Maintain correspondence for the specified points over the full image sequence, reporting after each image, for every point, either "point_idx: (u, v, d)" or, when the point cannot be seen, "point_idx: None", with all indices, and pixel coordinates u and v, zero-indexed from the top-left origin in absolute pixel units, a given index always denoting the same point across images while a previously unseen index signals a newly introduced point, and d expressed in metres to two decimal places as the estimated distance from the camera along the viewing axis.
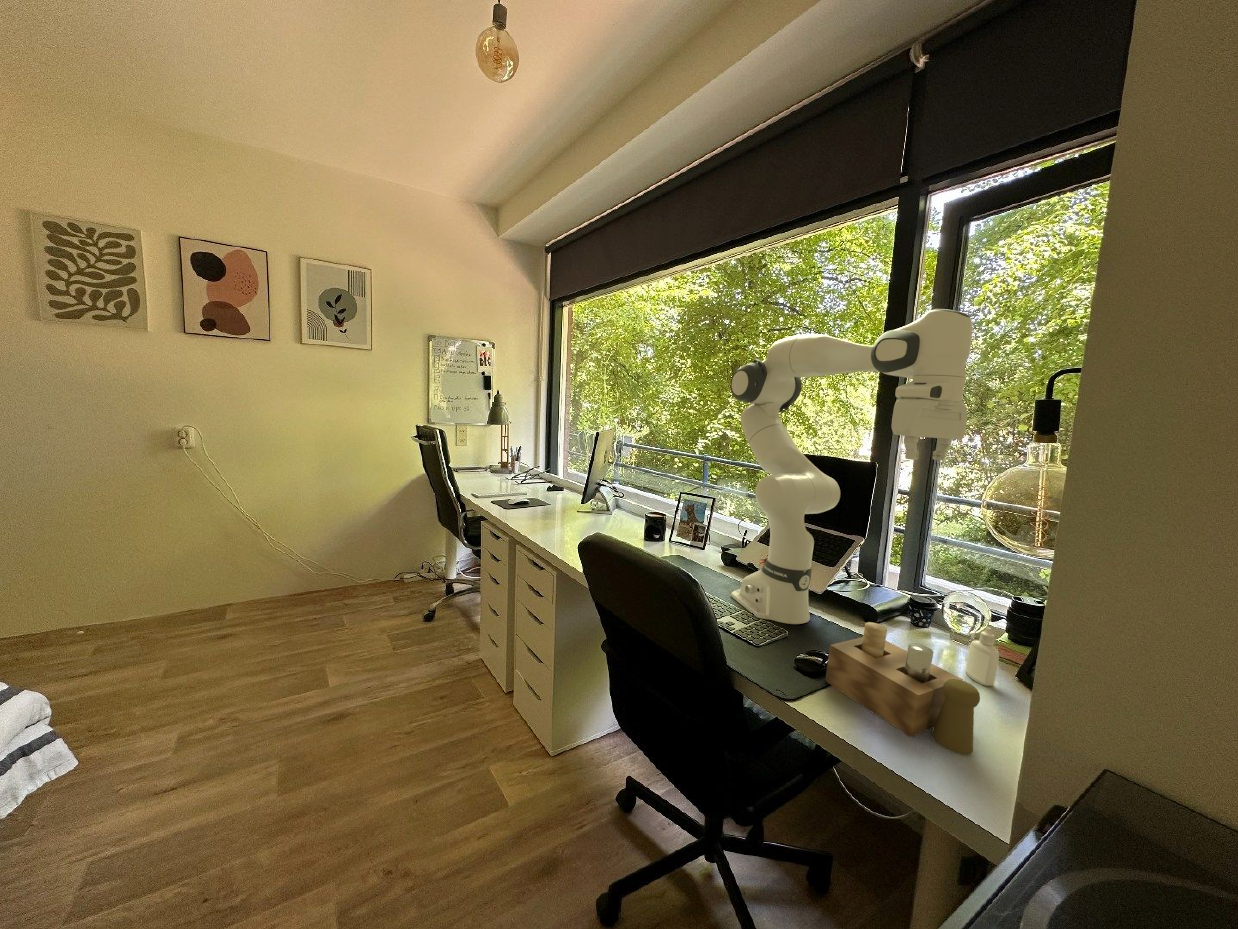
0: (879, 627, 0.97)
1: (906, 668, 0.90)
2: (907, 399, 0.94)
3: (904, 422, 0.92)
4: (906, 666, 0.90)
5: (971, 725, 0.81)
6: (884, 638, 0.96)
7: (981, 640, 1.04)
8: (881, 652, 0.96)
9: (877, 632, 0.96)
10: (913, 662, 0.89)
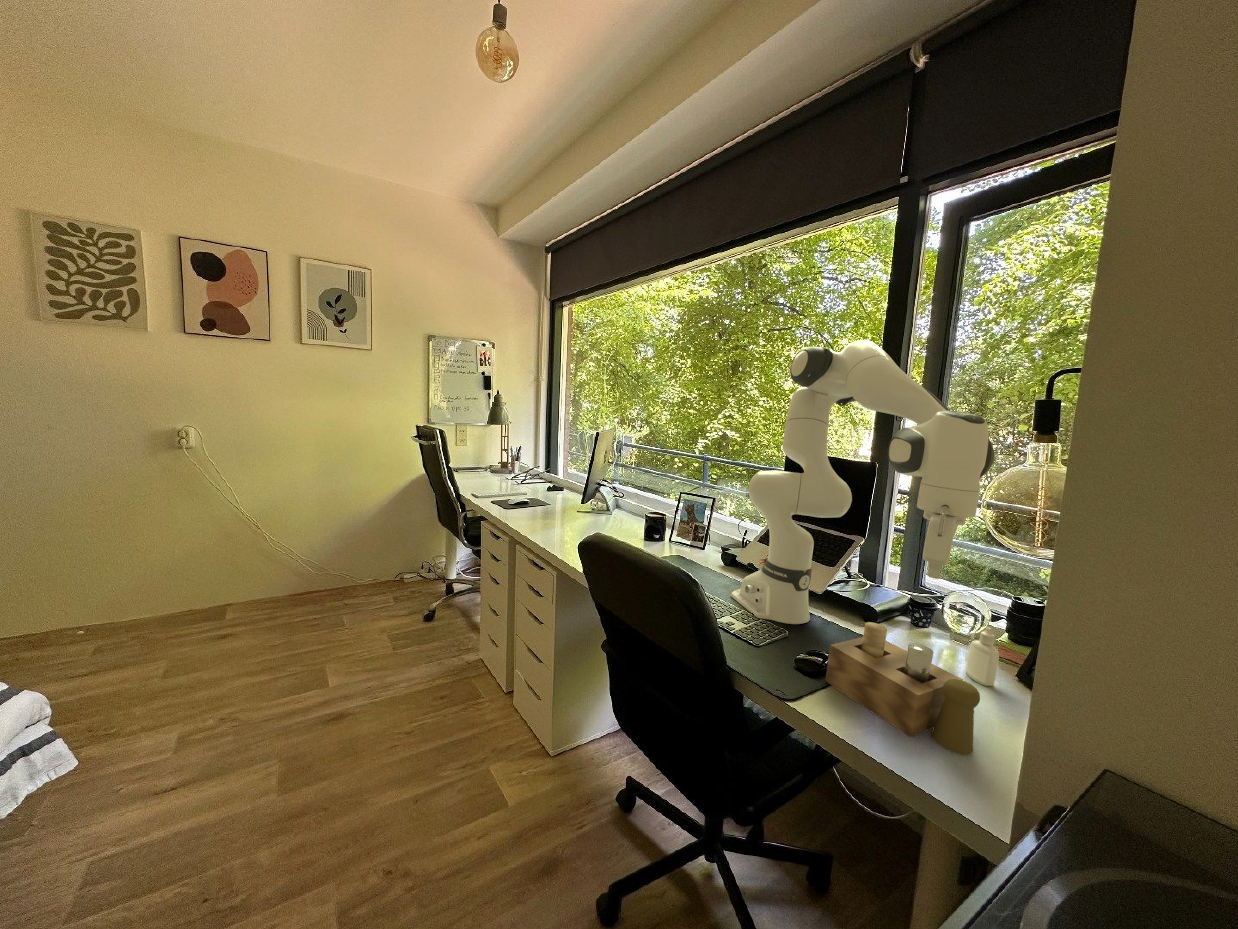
0: (879, 627, 0.97)
1: (906, 668, 0.90)
2: None
3: None
4: (906, 666, 0.90)
5: (971, 725, 0.81)
6: (884, 638, 0.96)
7: (981, 640, 1.04)
8: (881, 652, 0.96)
9: (877, 632, 0.96)
10: (913, 662, 0.89)
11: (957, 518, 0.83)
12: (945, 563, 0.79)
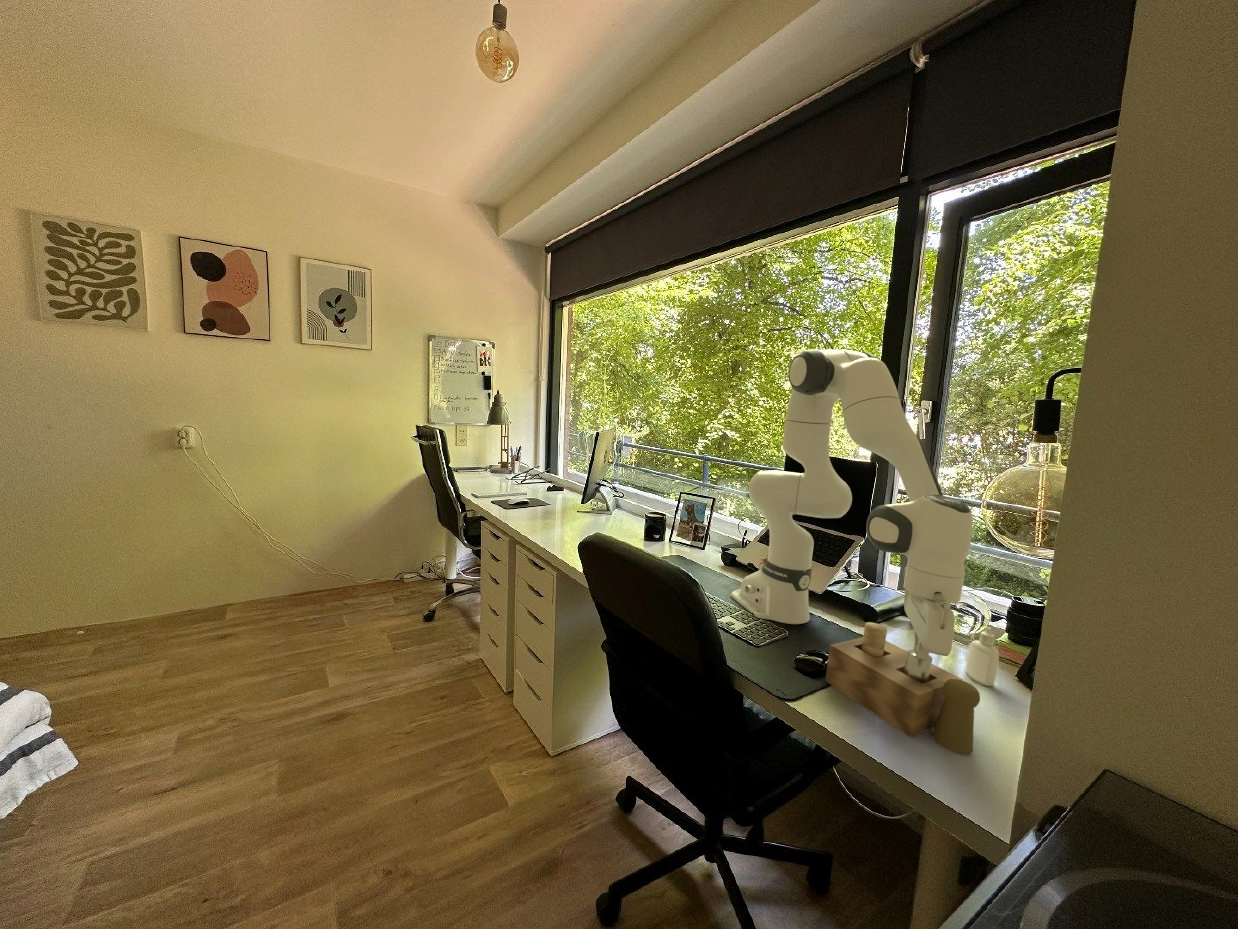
0: (879, 627, 0.97)
1: None
2: None
3: None
4: (905, 673, 0.90)
5: (971, 725, 0.81)
6: (884, 638, 0.96)
7: (981, 640, 1.04)
8: (881, 652, 0.96)
9: (877, 632, 0.96)
10: (912, 668, 0.89)
11: None
12: (947, 655, 0.80)
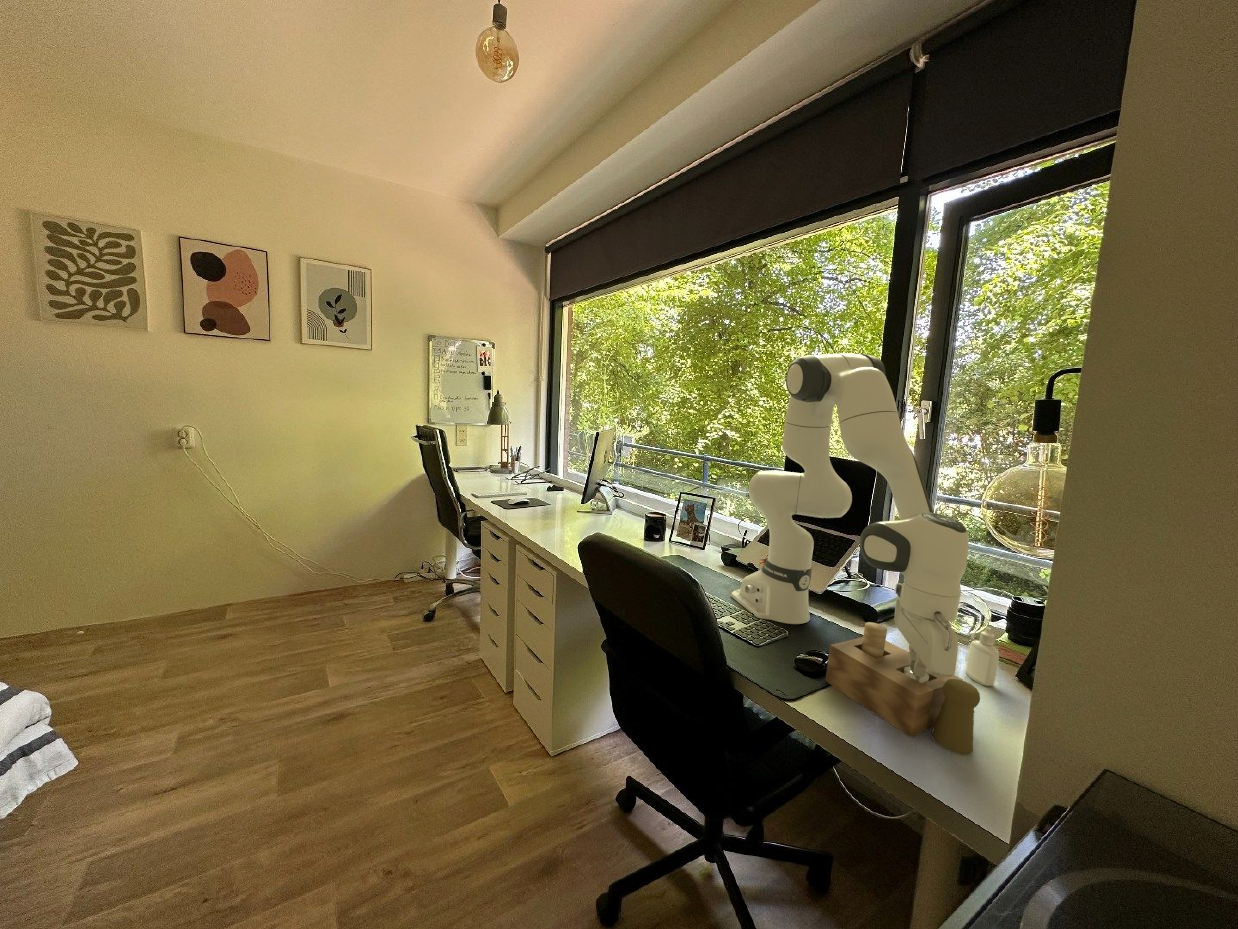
0: (879, 627, 0.97)
1: None
2: None
3: None
4: None
5: (971, 725, 0.81)
6: (884, 638, 0.96)
7: (981, 640, 1.04)
8: (881, 652, 0.96)
9: (877, 632, 0.96)
10: None
11: None
12: None
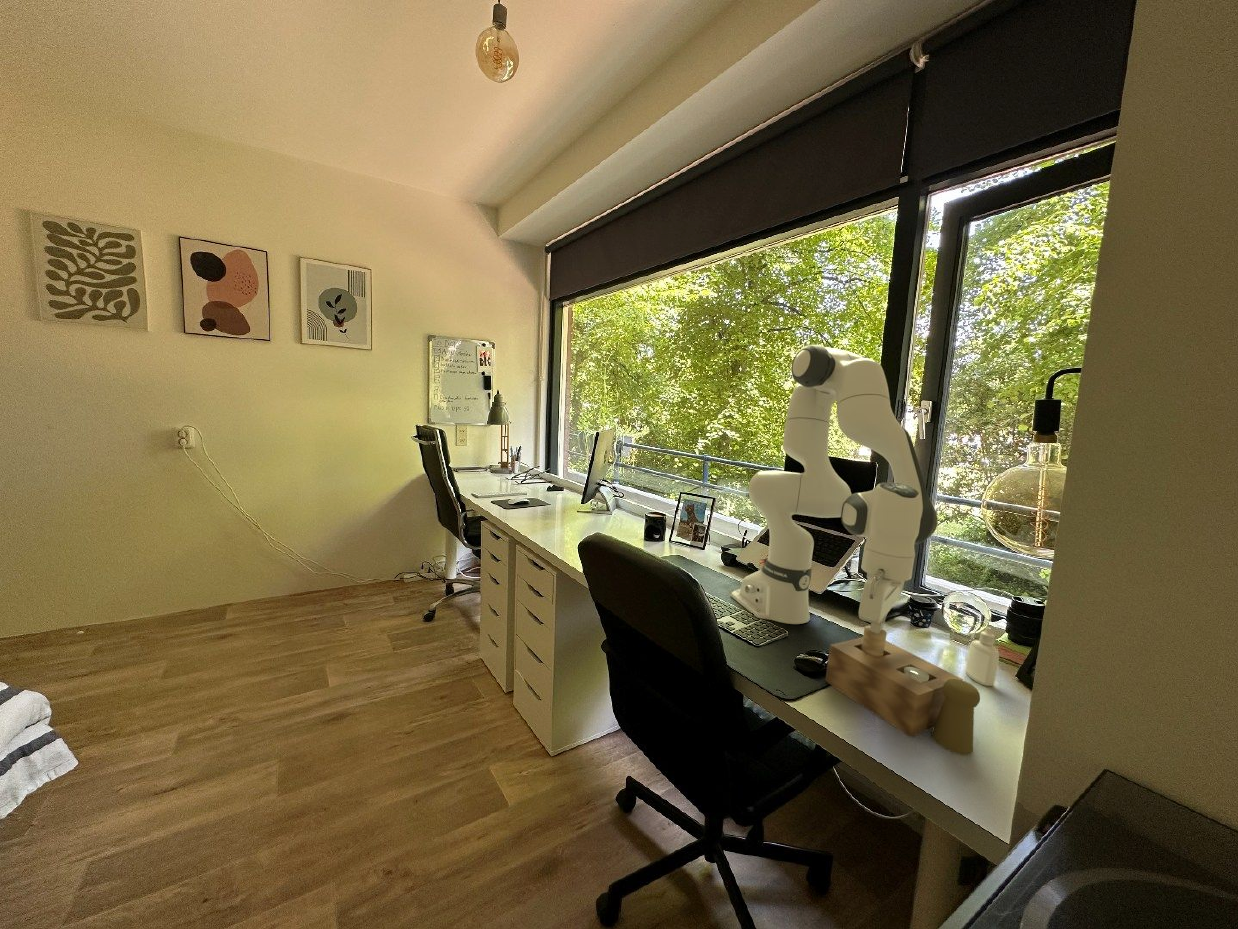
0: None
1: None
2: None
3: None
4: None
5: (971, 725, 0.81)
6: (883, 641, 0.96)
7: (981, 640, 1.04)
8: (880, 655, 0.96)
9: (877, 636, 0.96)
10: None
11: (893, 581, 0.93)
12: (876, 623, 0.88)
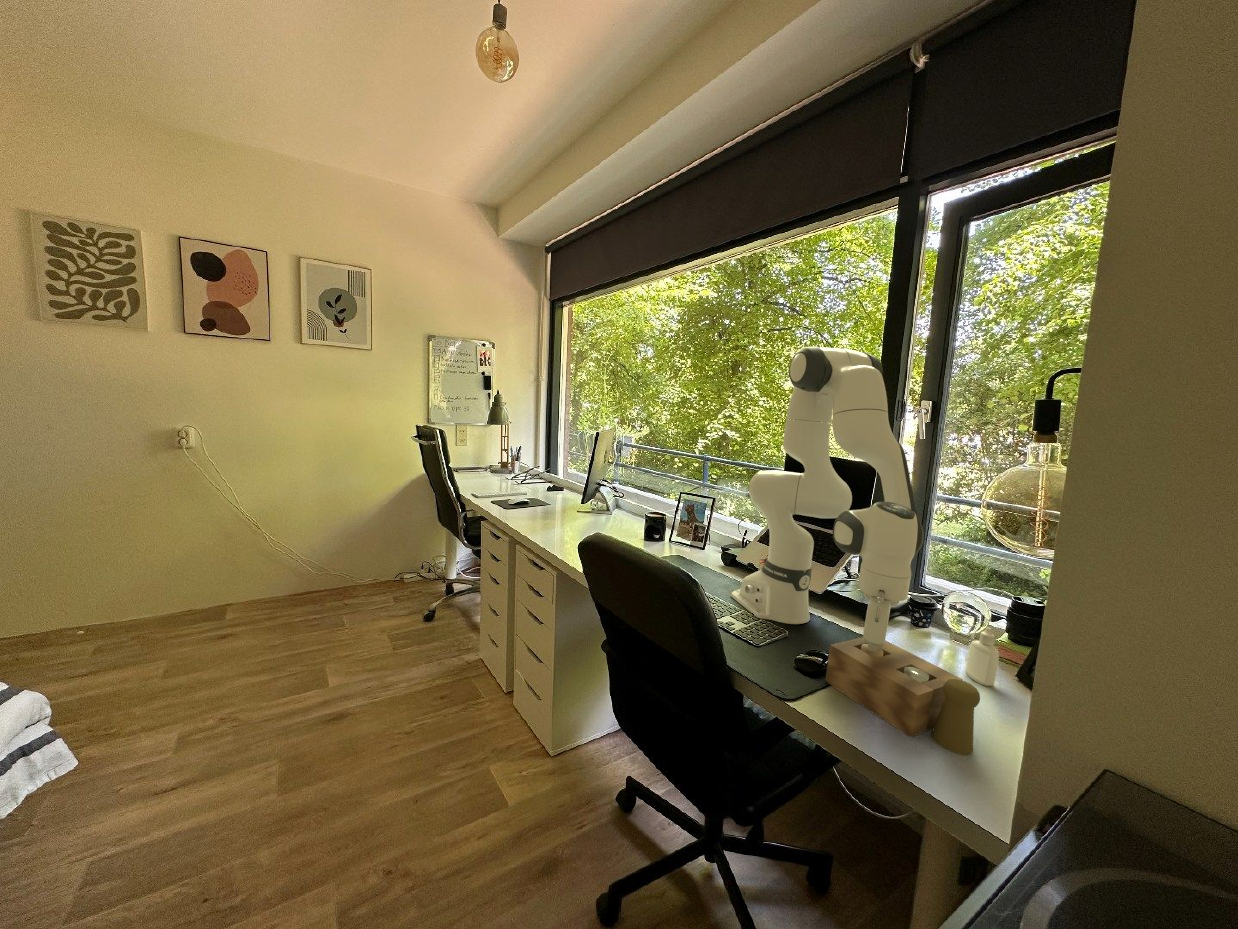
0: None
1: None
2: None
3: None
4: None
5: (971, 725, 0.81)
6: None
7: (981, 640, 1.04)
8: None
9: (874, 654, 0.96)
10: None
11: (892, 601, 0.93)
12: (881, 646, 0.88)
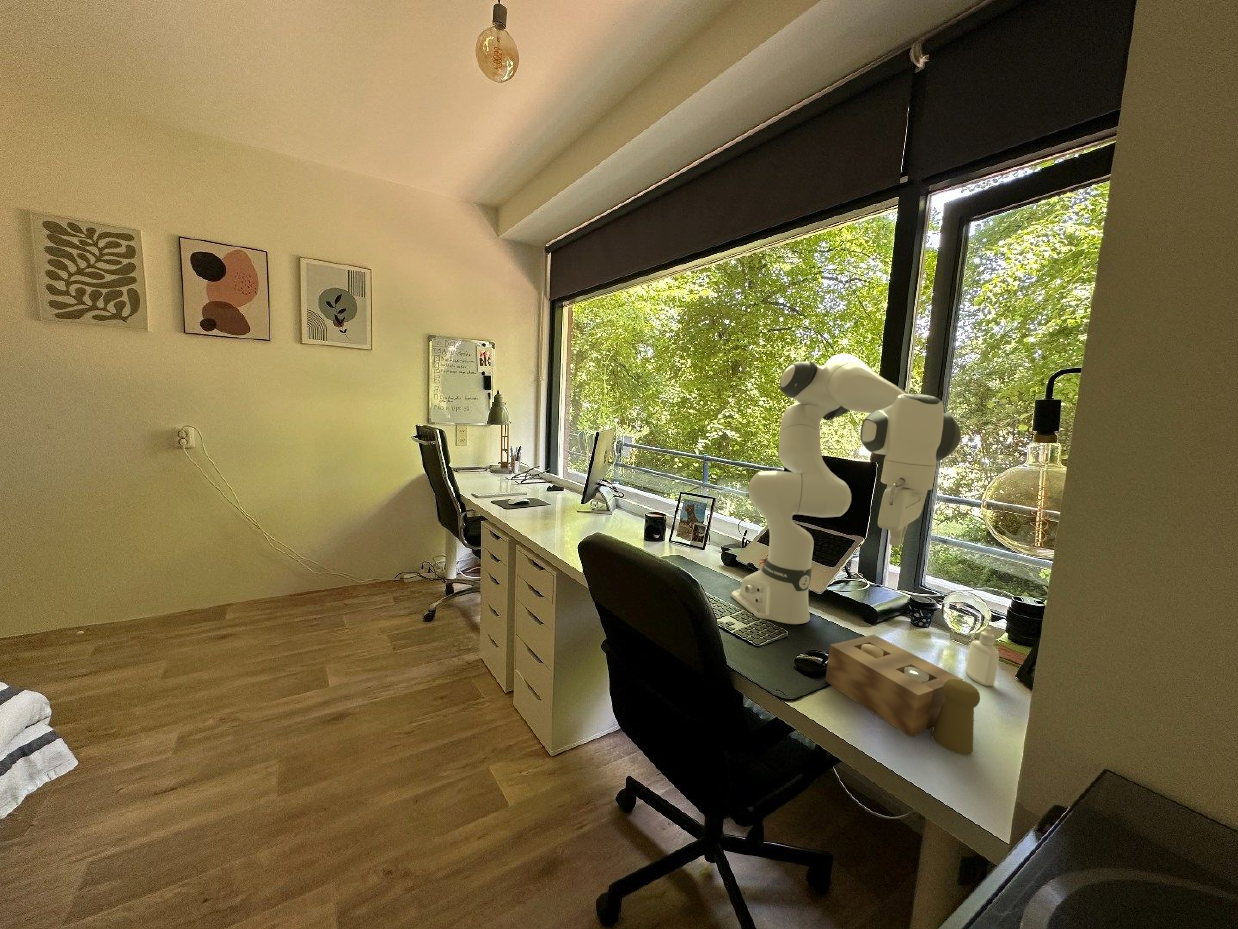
0: (875, 649, 0.98)
1: None
2: None
3: None
4: None
5: (971, 725, 0.81)
6: None
7: (981, 640, 1.04)
8: None
9: (874, 655, 0.96)
10: None
11: (914, 490, 0.91)
12: (896, 529, 0.87)
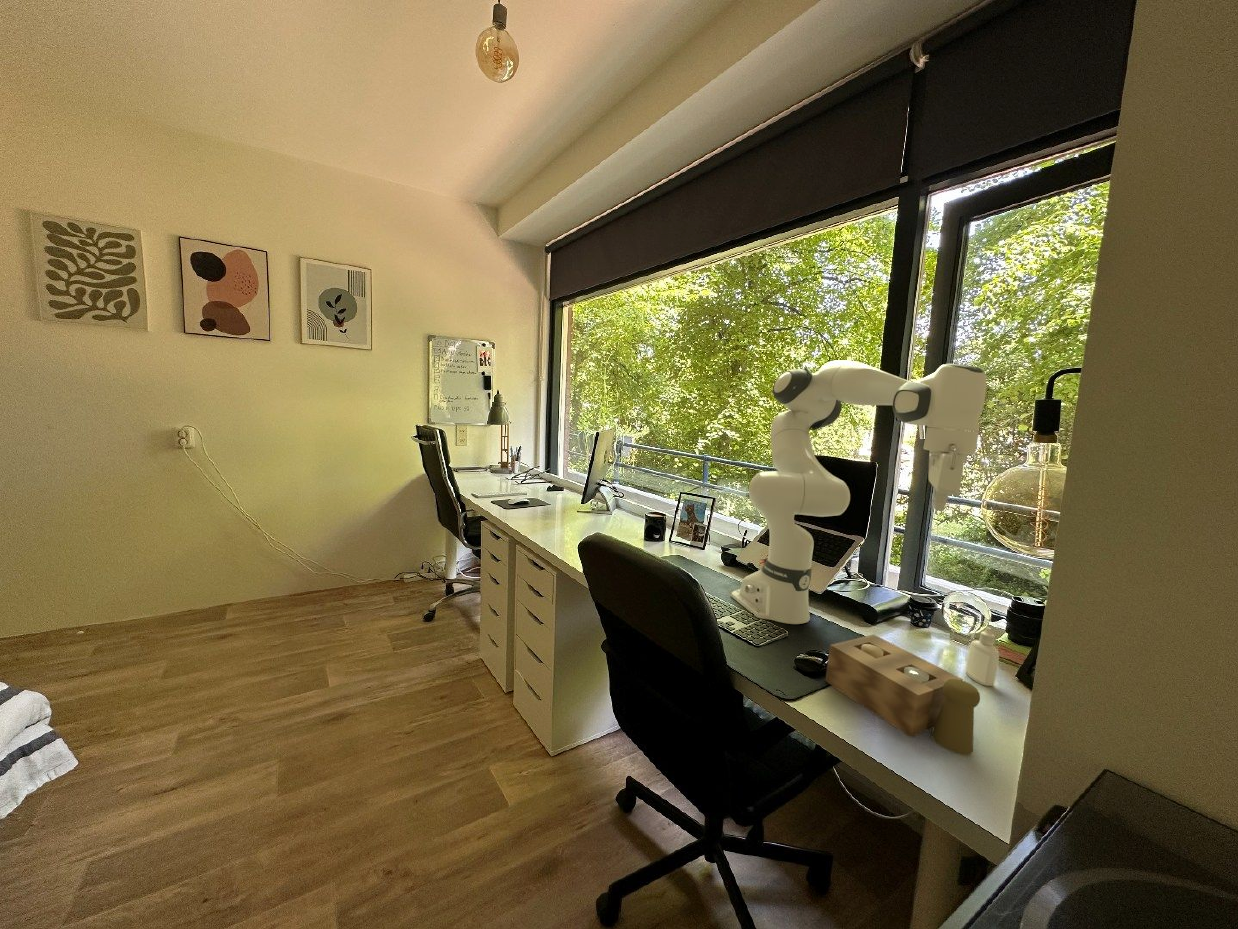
0: (875, 649, 0.98)
1: None
2: None
3: None
4: None
5: (971, 725, 0.81)
6: None
7: (981, 640, 1.04)
8: None
9: (874, 655, 0.96)
10: None
11: None
12: (956, 492, 0.91)
